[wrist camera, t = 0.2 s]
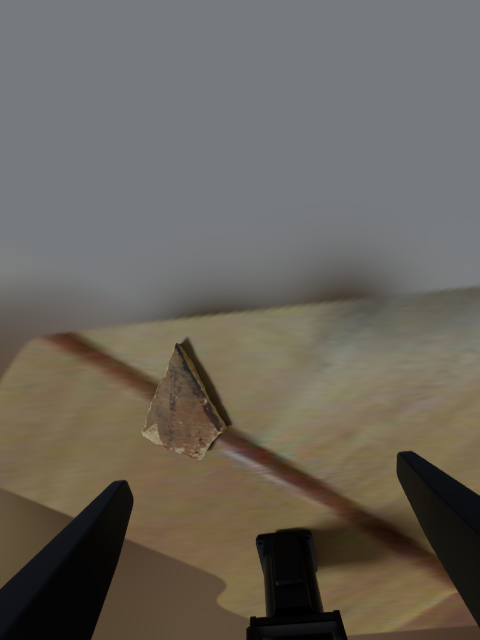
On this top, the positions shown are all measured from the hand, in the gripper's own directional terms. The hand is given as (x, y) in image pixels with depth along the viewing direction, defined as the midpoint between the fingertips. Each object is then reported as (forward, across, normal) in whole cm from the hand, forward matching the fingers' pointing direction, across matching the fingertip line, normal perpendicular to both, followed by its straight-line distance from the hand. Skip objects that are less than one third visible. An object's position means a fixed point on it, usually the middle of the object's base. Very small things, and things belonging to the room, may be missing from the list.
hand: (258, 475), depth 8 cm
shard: (+15, +9, +7) cm, 19 cm away
